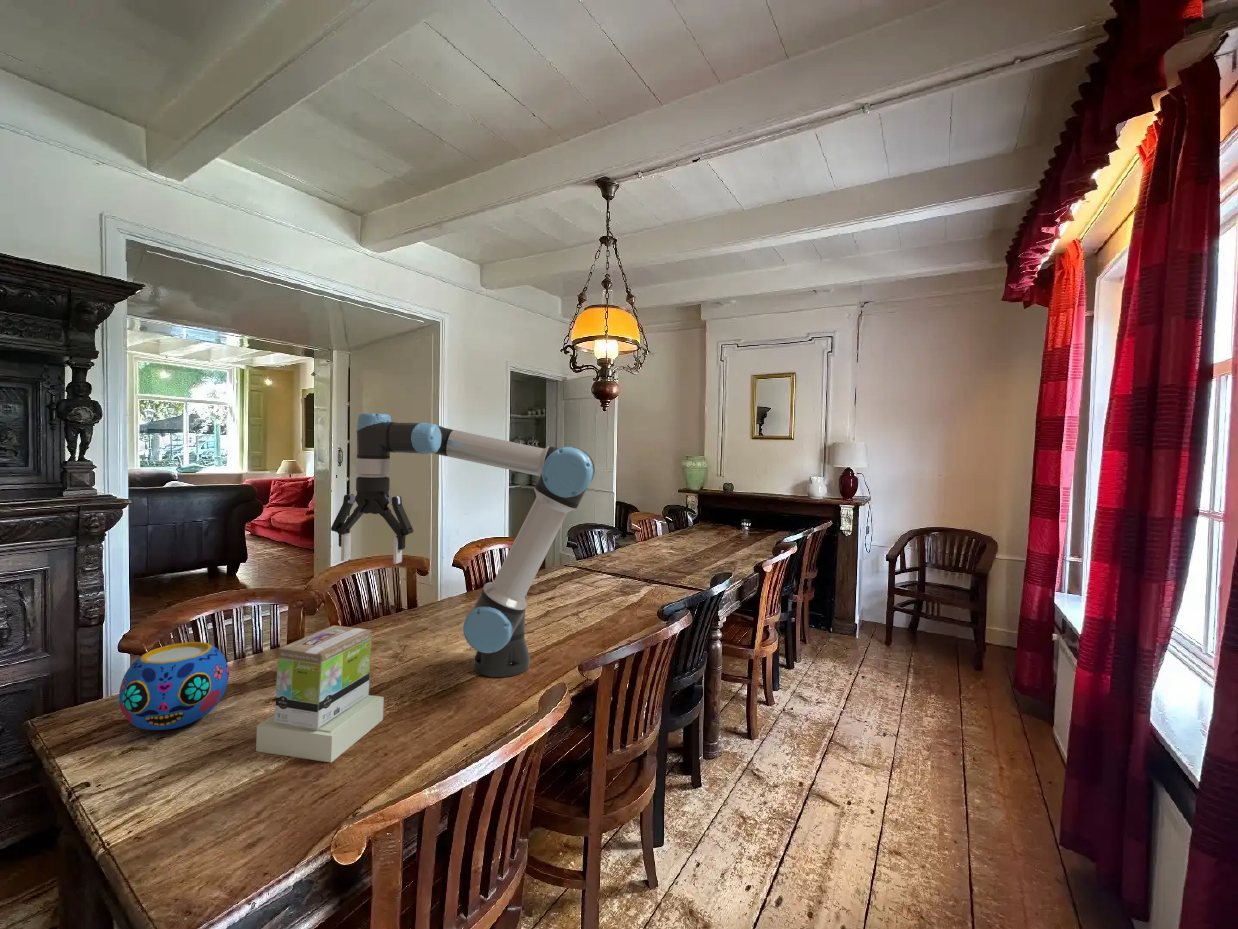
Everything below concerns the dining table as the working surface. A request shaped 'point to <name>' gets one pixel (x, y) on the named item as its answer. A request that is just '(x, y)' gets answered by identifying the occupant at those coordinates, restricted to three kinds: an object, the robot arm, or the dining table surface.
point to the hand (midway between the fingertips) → (371, 561)
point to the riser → (321, 733)
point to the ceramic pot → (173, 685)
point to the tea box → (322, 676)
